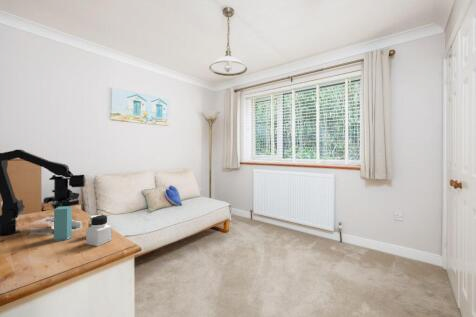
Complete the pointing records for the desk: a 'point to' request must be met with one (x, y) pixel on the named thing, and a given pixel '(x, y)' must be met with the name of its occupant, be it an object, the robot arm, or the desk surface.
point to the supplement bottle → (90, 221)
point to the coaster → (63, 239)
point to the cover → (52, 219)
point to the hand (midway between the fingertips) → (61, 217)
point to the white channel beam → (76, 225)
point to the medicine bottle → (98, 231)
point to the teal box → (62, 222)
